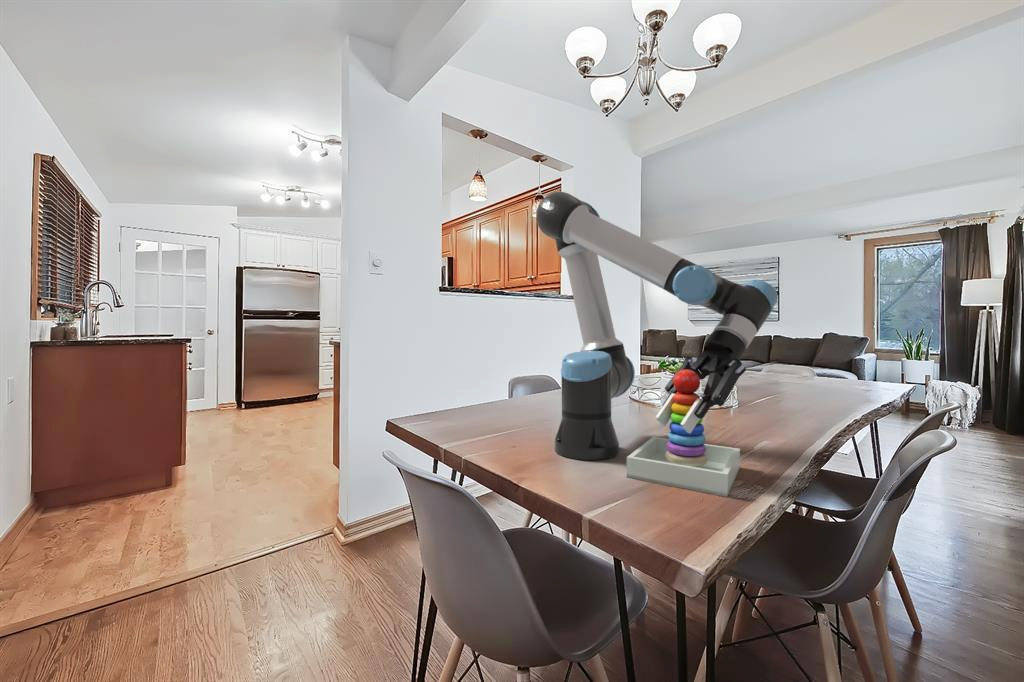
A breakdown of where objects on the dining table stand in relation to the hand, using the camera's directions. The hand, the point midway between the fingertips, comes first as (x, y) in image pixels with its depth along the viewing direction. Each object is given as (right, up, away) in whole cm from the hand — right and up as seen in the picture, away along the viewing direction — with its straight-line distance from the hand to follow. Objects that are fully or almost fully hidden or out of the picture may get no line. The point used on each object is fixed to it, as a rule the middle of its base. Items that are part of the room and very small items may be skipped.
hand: (672, 425), depth 86 cm
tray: (+3, -10, +2) cm, 11 cm away
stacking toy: (+4, -8, +2) cm, 9 cm away
